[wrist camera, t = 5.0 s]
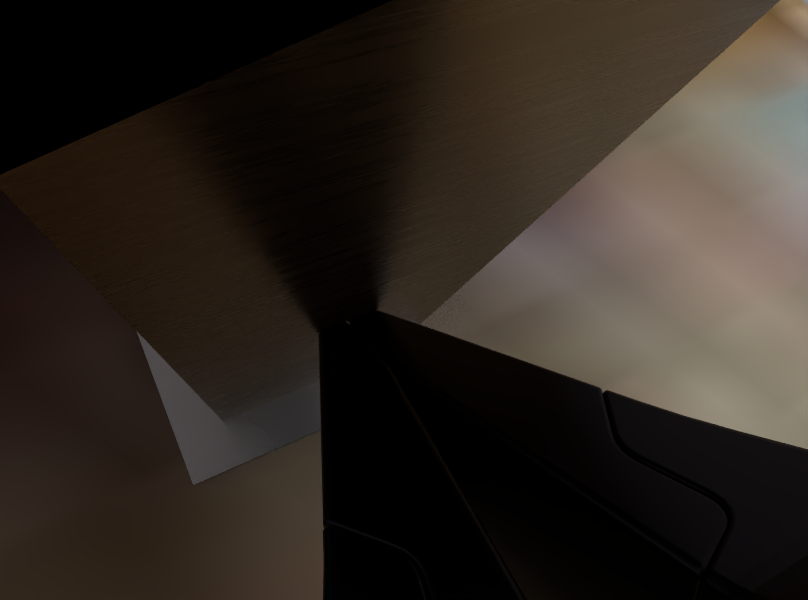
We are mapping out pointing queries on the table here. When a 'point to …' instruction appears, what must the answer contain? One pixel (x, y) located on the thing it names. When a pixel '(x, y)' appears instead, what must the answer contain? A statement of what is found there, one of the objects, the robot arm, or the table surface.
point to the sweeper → (312, 165)
